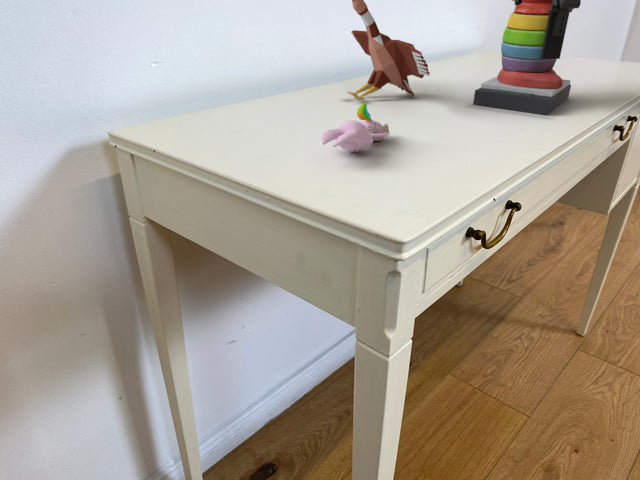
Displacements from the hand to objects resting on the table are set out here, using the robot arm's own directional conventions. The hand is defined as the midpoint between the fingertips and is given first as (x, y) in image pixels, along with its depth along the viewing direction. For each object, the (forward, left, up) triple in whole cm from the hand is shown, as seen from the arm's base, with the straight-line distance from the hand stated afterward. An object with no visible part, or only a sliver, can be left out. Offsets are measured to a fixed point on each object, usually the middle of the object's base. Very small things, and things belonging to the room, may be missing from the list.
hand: (532, 52), depth 84 cm
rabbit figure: (-26, +32, -8) cm, 41 cm away
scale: (-1, +1, -8) cm, 8 cm away
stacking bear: (0, 0, -5) cm, 5 cm away
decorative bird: (+3, +25, -8) cm, 26 cm away
